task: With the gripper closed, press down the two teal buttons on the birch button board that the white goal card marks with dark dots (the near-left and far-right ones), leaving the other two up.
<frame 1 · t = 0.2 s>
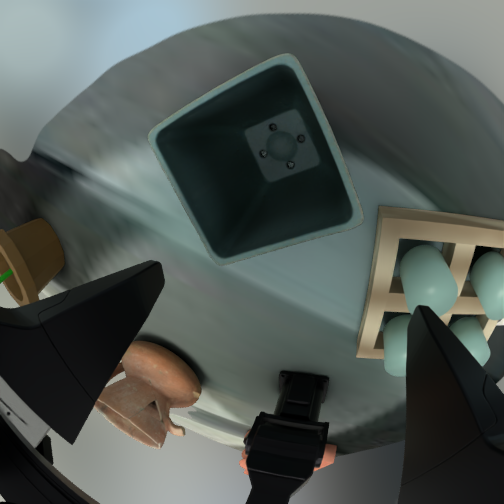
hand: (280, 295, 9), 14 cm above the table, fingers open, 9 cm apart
flowerpot: (49, 243, 38), on the table
button B: (467, 345, 18), point 4 cm above the table, slide at 0.0 cm
flower pot: (284, 146, 20), on the table
button A: (405, 345, 20), point 4 cm above the table, slide at 0.0 cm
button C: (427, 281, 17), point 4 cm above the table, slide at 0.0 cm
button D: (496, 285, 15), point 4 cm above the table, slide at 0.0 cm
ceramic jug: (165, 360, 42), on the table
board: (440, 288, 21), on the table
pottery: (288, 441, 46), on the table
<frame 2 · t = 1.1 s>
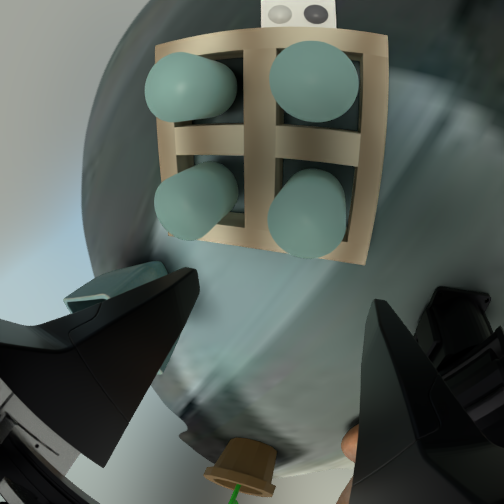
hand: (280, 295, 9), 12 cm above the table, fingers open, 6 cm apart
flowerpot: (253, 446, 46), on the table
button B: (317, 84, 12), point 4 cm above the table, slide at 0.0 cm
flower pot: (158, 281, 29), on the table
button A: (310, 209, 15), point 4 cm above the table, slide at 0.0 cm
button C: (198, 198, 17), point 4 cm above the table, slide at 0.0 cm
button D: (192, 87, 13), point 4 cm above the table, slide at 0.0 cm
ceramic jug: (388, 426, 31), on the table
board: (269, 137, 18), on the table
goal card: (298, 2, 12), on the table
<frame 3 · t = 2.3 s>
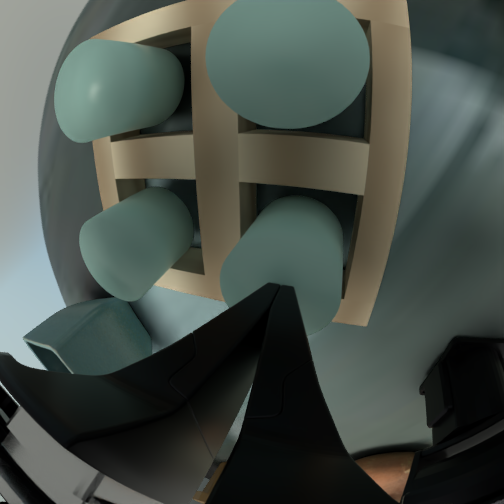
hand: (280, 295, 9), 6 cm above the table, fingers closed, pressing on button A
flowerpot: (245, 470, 41), on the table
button B: (296, 64, 7), point 4 cm above the table, slide at 0.0 cm
flower pot: (125, 316, 24), on the table
button A: (289, 262, 10), point 4 cm above the table, slide at 0.2 cm, touching gripper
button C: (137, 240, 12), point 4 cm above the table, slide at 0.0 cm
button D: (118, 87, 8), point 4 cm above the table, slide at 0.0 cm
ceramic jug: (386, 460, 26), on the table
board: (236, 148, 13), on the table
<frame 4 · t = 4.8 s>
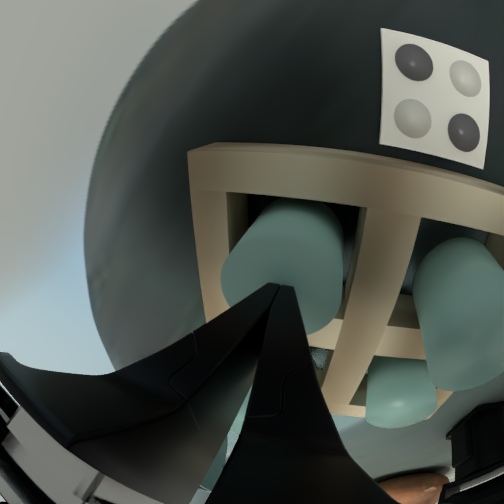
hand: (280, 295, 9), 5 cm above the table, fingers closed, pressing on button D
button B: (468, 312, 7), point 4 cm above the table, slide at 0.0 cm
flower pot: (194, 392, 24), on the table
button A: (400, 383, 12), point 2 cm above the table, slide at 2.0 cm
button C: (271, 395, 12), point 4 cm above the table, slide at 0.0 cm
button D: (290, 261, 10), point 3 cm above the table, slide at 1.7 cm, touching gripper
ceramic jug: (406, 478, 26), on the table
board: (359, 304, 13), on the table
goal card: (438, 97, 8), on the table
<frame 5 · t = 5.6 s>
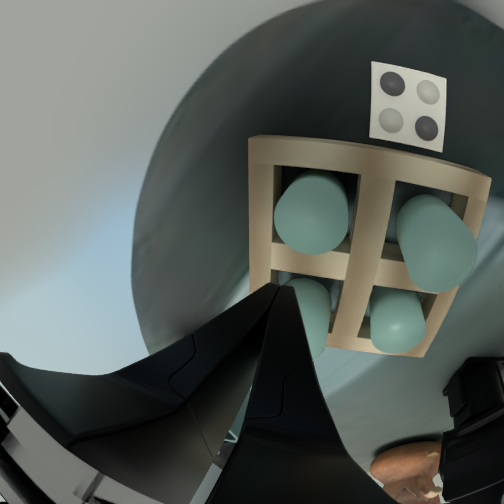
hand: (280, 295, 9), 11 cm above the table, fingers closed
button B: (433, 240, 12), point 4 cm above the table, slide at 0.0 cm
flower pot: (220, 351, 29), on the table
button A: (396, 315, 17), point 2 cm above the table, slide at 2.0 cm
button C: (299, 319, 18), point 4 cm above the table, slide at 0.0 cm
button D: (314, 208, 16), point 2 cm above the table, slide at 2.0 cm
ceramic jug: (409, 449, 31), on the table
board: (360, 251, 18), on the table
goal card: (409, 106, 13), on the table
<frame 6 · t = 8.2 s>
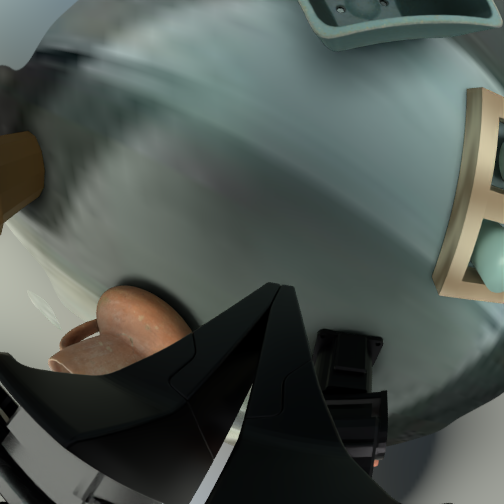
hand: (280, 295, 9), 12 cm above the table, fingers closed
flowerpot: (30, 164, 27), on the table
flower pot: (363, 9, 11), on the table
button A: (495, 254, 14), point 2 cm above the table, slide at 2.0 cm
ceramic jug: (153, 320, 32), on the table
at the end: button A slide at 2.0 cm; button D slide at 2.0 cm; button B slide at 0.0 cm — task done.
